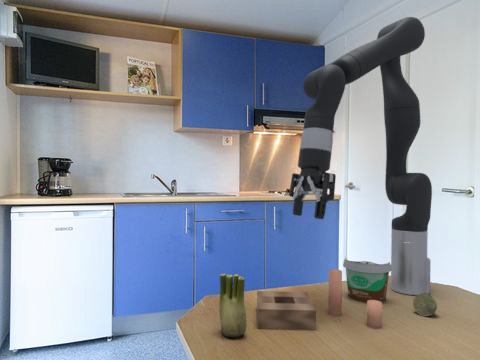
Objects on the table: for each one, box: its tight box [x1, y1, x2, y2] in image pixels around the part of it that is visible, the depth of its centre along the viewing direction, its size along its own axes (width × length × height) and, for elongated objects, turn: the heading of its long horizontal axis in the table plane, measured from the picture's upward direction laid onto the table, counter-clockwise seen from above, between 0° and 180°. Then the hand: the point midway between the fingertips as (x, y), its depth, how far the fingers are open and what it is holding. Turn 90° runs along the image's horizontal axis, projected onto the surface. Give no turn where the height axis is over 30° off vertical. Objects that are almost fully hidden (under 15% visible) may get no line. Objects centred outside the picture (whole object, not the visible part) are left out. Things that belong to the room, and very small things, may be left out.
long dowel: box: [327, 268, 343, 317], centre depth 82 cm, size 3×3×10 cm
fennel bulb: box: [218, 273, 247, 338], centre depth 71 cm, size 6×5×12 cm
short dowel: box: [366, 300, 383, 329], centre depth 76 cm, size 3×3×5 cm
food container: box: [342, 257, 392, 304], centre depth 92 cm, size 12×6×10 cm, turn 62°
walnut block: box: [256, 290, 317, 331], centre depth 80 cm, size 12×12×4 cm
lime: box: [412, 293, 438, 317], centre depth 83 cm, size 4×5×5 cm
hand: (307, 216), depth 84 cm, fingers open, 8 cm apart
